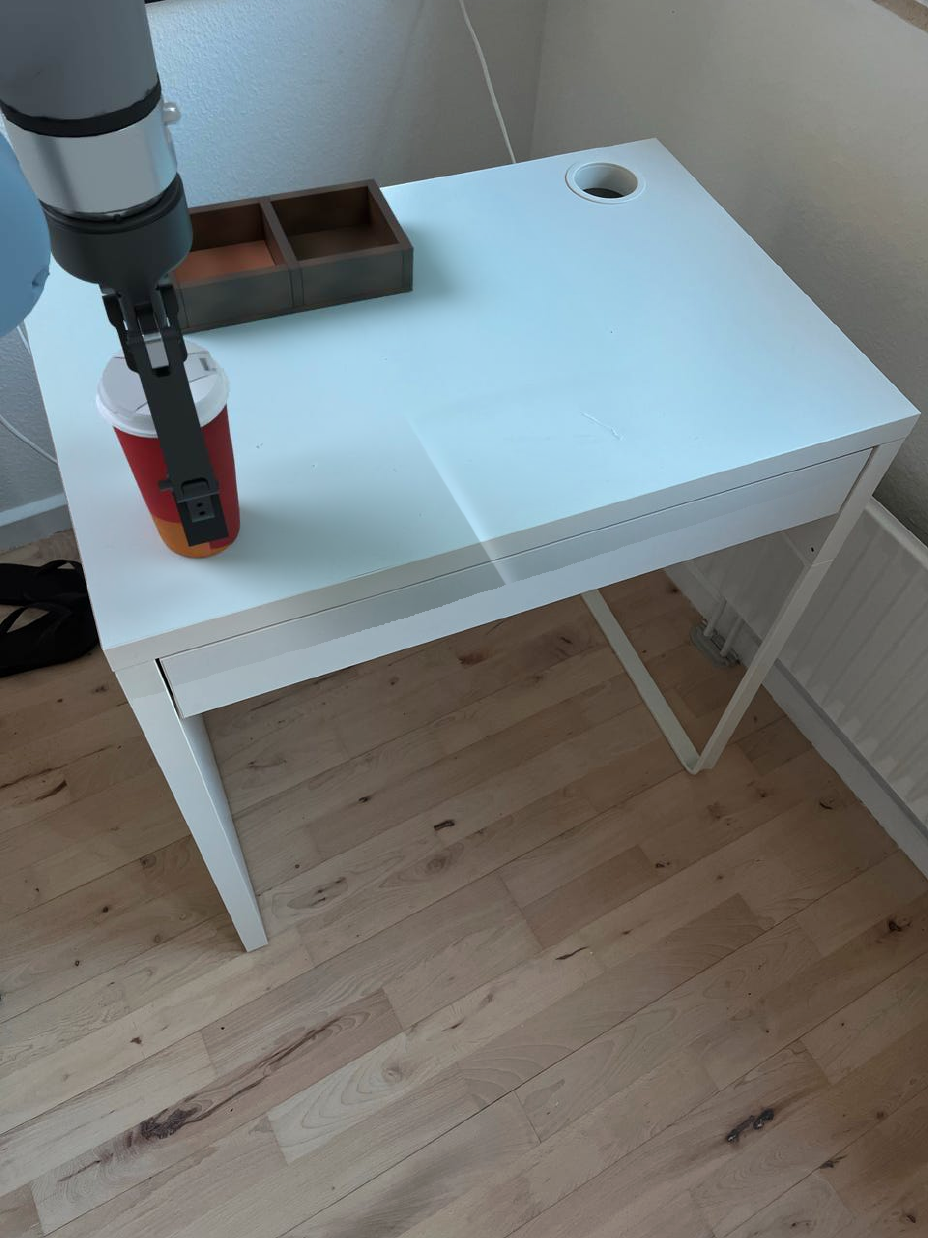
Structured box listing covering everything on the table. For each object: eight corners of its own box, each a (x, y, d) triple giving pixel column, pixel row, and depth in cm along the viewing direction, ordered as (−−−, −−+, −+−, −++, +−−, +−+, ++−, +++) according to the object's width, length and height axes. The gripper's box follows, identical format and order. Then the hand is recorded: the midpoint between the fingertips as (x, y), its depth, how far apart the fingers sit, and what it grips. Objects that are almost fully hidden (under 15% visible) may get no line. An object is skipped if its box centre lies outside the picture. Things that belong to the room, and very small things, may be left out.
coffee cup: (236, 474, 74) (204, 319, 62) (270, 550, 70) (243, 399, 58) (130, 505, 72) (75, 349, 60) (159, 585, 68) (106, 436, 56)
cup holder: (178, 335, 83) (168, 291, 79) (153, 258, 89) (143, 214, 85) (412, 290, 89) (413, 247, 85) (374, 221, 94) (374, 177, 91)
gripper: (236, 317, 43) (285, 588, 60) (135, 53, 55) (200, 341, 73) (66, 350, 41) (168, 620, 59) (2, 70, 54) (102, 361, 71)
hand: (186, 466), depth 66 cm, fingers open, 13 cm apart
